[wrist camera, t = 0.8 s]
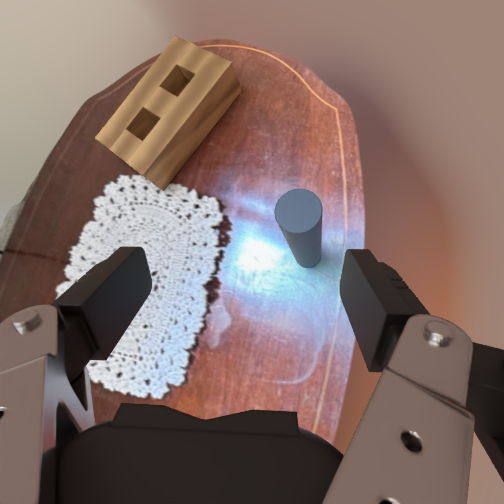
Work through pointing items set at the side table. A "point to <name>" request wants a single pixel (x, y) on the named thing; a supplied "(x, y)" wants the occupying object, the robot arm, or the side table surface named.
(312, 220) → the peg
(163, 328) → the side table surface
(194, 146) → the rack
